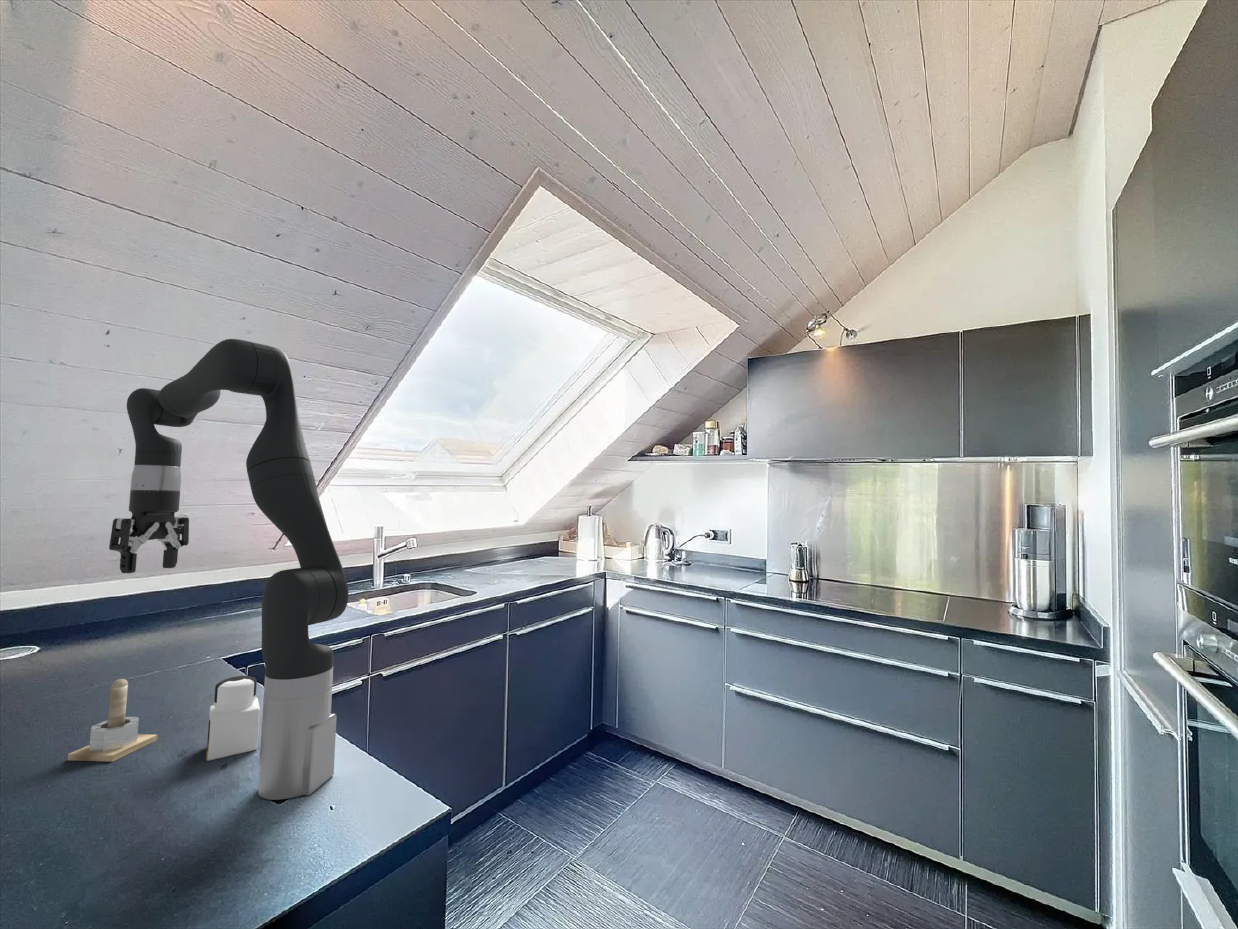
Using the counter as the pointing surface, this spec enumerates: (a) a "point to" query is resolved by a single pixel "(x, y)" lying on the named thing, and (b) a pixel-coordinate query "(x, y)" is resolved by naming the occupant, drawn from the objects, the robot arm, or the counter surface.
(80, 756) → the post stand
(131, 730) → the ring
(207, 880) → the counter surface
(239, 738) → the medicine bottle
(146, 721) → the counter surface
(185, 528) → the robot arm
